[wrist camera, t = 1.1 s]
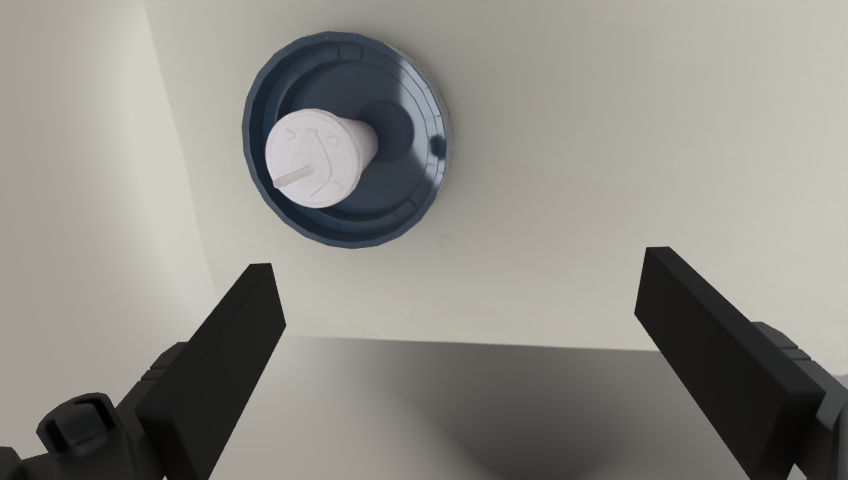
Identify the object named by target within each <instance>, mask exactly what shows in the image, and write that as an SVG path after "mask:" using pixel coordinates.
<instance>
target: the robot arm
mask: <svg viewBox="0 0 848 480" xmlns="http://www.w3.org/2000/svg"><path fill="white" fill-rule="evenodd" d="M634 314H635V316H636V317H637V319H638V320H639V321H640V323H641V324H642V326H643V327H644V328H645V330H646V331H647V333H648V334H649V336H650V337H651V338H652V340H653V341H654V343H655V344H656V346H657V347H658V348H659V350H660V351H661V353H662V354H663V355H664V357H665V358H666V360H667V361H668V363H669V364H670V366H671V367H672V368H673V370H674V371H675V373H676V374H677V375H678V377H679V378H680V380H681V381H682V383H683V384H684V386H685V387H686V388H687V390H688V391H689V393H690V394H691V396H692V397H693V398H694V400H695V401H696V403H697V404H698V406H699V407H700V408H701V410H702V411H703V413H704V414H705V415H706V417H707V418H708V420H709V421H710V423H711V424H712V425H713V427H714V428H715V430H716V431H717V433H718V434H719V435H720V437H721V438H722V440H723V441H724V443H725V444H726V445H727V447H728V448H729V449H730V451H731V452H732V454H733V455H734V457H735V458H736V460H737V461H738V463H739V464H740V465H741V467H742V468H743V470H744V471H745V473H746V474H747V475H748V477H749V478H750V480H787V478H788V476H789V473H790V471H791V469H792V467H793V465H794V463H795V464H796V465H797V466H798V468H799V469H800V470H801V471H802V472H803V474H804V475H805V476H806V477H807V480H848V390H847V389H846V388H845V387H844V386H842V385H841V384H840V383H839V382H838V381H837V380H836V379H834V377H832V376H831V375H830V374H829V373H828V372H827V371H826V370H824V369H823V368H822V367H821V366H820V365H819V364H818V363H816V362H815V361H812V360H811V357H809V356H808V355H807V354H806V353H805V352H804V351H803V350H801V349H798V346H797V345H796V344H795V343H793V342H792V341H791V340H790V339H789V338H788V337H787V336H785V335H784V334H783V333H782V332H780V331H778V330H776V329H774V328H772V327H770V326H769V325H767V324H765V323H763V322H750V321H749V320H748V319H747V318H746V317H745V316H744V315H743V314H742V313H741V312H739V311H738V310H737V309H736V308H735V307H734V306H733V305H732V304H731V303H730V302H729V301H728V300H726V299H725V298H724V297H723V296H722V295H721V294H720V293H719V292H718V291H717V290H716V289H715V288H714V287H712V286H711V285H710V284H709V283H708V282H707V281H706V280H705V279H704V278H703V277H702V276H701V275H699V274H698V273H697V272H696V271H695V270H694V269H693V268H692V267H691V266H690V265H689V264H688V263H686V262H685V261H684V260H683V259H682V258H681V257H680V256H679V255H678V254H677V253H676V252H675V251H673V250H672V249H671V248H670V247H646V252H645V257H644V263H643V268H642V274H641V279H640V285H639V290H638V296H637V301H636V307H635V312H634ZM285 327H286V323H285V319H284V314H283V310H282V306H281V302H280V298H279V294H278V290H277V286H276V281H275V277H274V273H273V269H272V265H271V263H260V264H250V265H249V266H248V267H247V268H246V270H245V271H244V272H243V273H242V275H241V276H240V277H239V278H238V280H237V281H236V282H235V283H234V285H233V286H232V287H231V288H230V290H229V291H228V292H227V293H226V295H225V296H224V297H223V298H222V300H221V301H220V302H219V304H218V305H217V306H216V307H215V309H214V310H213V311H212V312H211V314H210V315H209V316H208V317H207V319H206V320H205V321H204V323H203V324H202V325H201V326H200V327H199V329H198V330H197V331H196V332H195V334H194V335H193V336H192V337H191V339H190V340H189V341H188V342H177V343H176V344H175V345H173V346H172V347H171V348H169V349H168V350H166V351H165V352H163V353H162V354H161V355H160V356H159V357H158V359H157V360H156V361H155V362H154V363H153V364H152V366H151V367H150V370H147V372H146V373H145V374H144V375H143V376H142V377H141V381H138V382H137V383H136V384H135V386H134V387H133V388H132V389H131V390H130V392H129V393H128V394H127V395H126V396H125V397H124V399H123V400H122V401H121V402H120V403H119V404H118V406H117V407H116V408H114V406H113V404H112V402H111V400H110V399H109V397H108V396H107V395H106V394H103V393H99V392H97V393H87V394H84V395H81V396H78V397H75V398H72V399H70V400H68V401H67V402H64V403H62V404H60V405H59V406H58V407H56V408H55V409H53V410H52V411H51V412H49V413H48V414H47V415H46V416H45V417H44V418H43V420H42V421H41V422H40V423H39V425H38V428H37V431H36V433H37V435H38V436H39V438H40V439H41V441H42V443H43V444H44V446H45V447H46V449H47V451H48V452H49V453H45V454H42V455H38V456H34V457H31V458H27V459H23V460H21V459H20V457H19V456H18V454H17V453H16V451H15V450H14V449H13V448H12V447H3V446H2V447H0V480H163V478H164V476H166V478H167V480H208V479H209V477H210V475H211V473H212V471H213V469H214V467H215V465H216V463H217V461H218V459H219V457H220V455H221V453H222V451H223V449H224V447H225V445H226V443H227V442H228V439H229V438H230V436H231V434H232V432H233V430H234V428H235V426H236V424H237V422H238V420H239V418H240V416H241V414H242V412H243V410H244V408H245V406H246V404H247V402H248V400H249V398H250V396H251V394H252V392H253V390H254V388H255V386H256V384H257V382H258V380H259V378H260V376H261V374H262V373H263V371H264V369H265V366H266V365H267V363H268V361H269V359H270V357H271V355H272V353H273V351H274V349H275V347H276V345H277V343H278V341H279V339H280V337H281V335H282V333H283V331H284V329H285Z"/></svg>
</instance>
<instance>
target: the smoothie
mask: <svg viewBox="0 0 848 480" xmlns="http://www.w3.org/2000/svg"><path fill="white" fill-rule="evenodd" d="M377 150H378V137H377V134H376V132H375V131H374V129H373V128H372V127H371V126H370V125H369V124H367V123H365V122H363V121H359V120H353V119H347V118H340V117H337V116H335V115H333V114H332V113H330V112H327V111H324V110H320V109H302V110H299V111H296V112H293V113H290V114H288V115H286V116H284V117H283V118H282V119H280V120H279V121H278V122H277V123H276V124H275V126H274V127H273V128H272V130H271V132H270V134H269V136H268V139H267V143H266V153H265V155H266V164H267V168H268V171H269V174H270V176H271V178H272V180H273V185H274V187H275V188H277V189H279V190H280V191H281V192H282V193H283V194H284V195H285V196H286V197H288V198H289V199H290V200H292V201H294V202H296V203H298V204H300V205H303V206H306V207H311V208H323V207H328V206H331V205H333V204H335V203H338V202H339V201H341V200H343V199H344V198H346V197H347V196H348V195H349V194H350V193H351V192H352V191H353V190H354V189H355V187H356V185H357V183H358V181H359V179H360V176H361V173H362V172H363V170H364V169H365V168H366V167H367V165H368V164H369V163H370V162H371V160H372V159H373V158H374V156H375V155H376V153H377Z"/></svg>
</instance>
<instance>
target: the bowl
mask: <svg viewBox="0 0 848 480" xmlns="http://www.w3.org/2000/svg"><path fill="white" fill-rule="evenodd" d="M302 109H320V110H324V111H327V112H330V113H332V114H333V115H335V116H337V117H340V118H347V119H353V120H359V121H363V122H365V123H367V124H369V125H370V126H371V127H372V128H373V129H374V131H375V132H376V134H377V137H378V150H377V153H376V155H375V156H374V158H373V159H372V160H371V162H370V163H369V164H368V165H367V167H366V168H365V169H364V170H363V172H362V173H361V176H360V179H359V181H358V183H357V185H356V187H355V189H354V190H353V191H352V192H351V193H350V194H349V195H348V196H347V197H346V198H344V199H343V200H341V201H339V202H338V203H335V204H333V205H331V206H328V207H323V208H311V207H306V206H303V205H300V204H298V203H296V202H294V201H292V200H290V199H289V198H288V197H286V196H285V195H284V194H283V193H282V192H281V191H280V190H279V189H277V188H275V187H274V185H273V180H272V178H271V176H270V174H269V171H268V168H267V164H266V155H265V153H266V143H267V139H268V136H269V134H270V132H271V130H272V128H273V127H274V126H275V124H276V123H277V122H278V121H279V120H280V119H282V118H283V117H284V116H286V115H288V114H290V113H293V112H296V111H299V110H302ZM242 136H243V149H244V155H245V158H246V162H247V165H248V168H249V171H250V174H251V177H252V180H253V182H254V183H255V185H256V187H257V189H258V190H259V192H260V194H261V195H262V197H263V199H264V201H265V202H266V203H267V205H268V206H269V207H270V208H271V209H272V210H273V211H274V212H275V213H276V214H277V215H278V216H279V218H280V219H281V220H282V221H283V222H284V223H286V224H287V225H289V226H290V227H291V228H293V229H294V230H296V231H297V232H299V233H300V234H302V235H303V236H305V237H307V238H310V239H312V240H315V241H317V242H320V243H322V244H325V245H329V246H333V247H341V248H349V249H358V248H366V247H373V246H379V245H381V244H383V243H386V242H388V241H391V240H393V239H395V238H398V237H400V236H401V235H403V234H404V233H405V232H406V231H408V230H409V229H410V228H412V227H413V226H414V225H415V224H417V223H418V222H419V221H420V220H421V219H422V217H423V216H424V214H425V213H426V212H427V210H428V209H429V207H430V206H431V205H432V203H433V202H434V200H435V199H436V197H437V196H438V194H439V192H440V191H441V189H442V187H443V184H444V181H445V179H446V176H447V173H448V171H449V168H450V164H451V156H452V145H453V135H452V129H451V123H450V117H449V112H448V109H447V107H446V105H445V103H444V100H443V98H442V96H441V94H440V91H439V89H438V87H437V85H436V84H435V83H434V82H433V80H432V79H431V78H430V77H429V75H428V74H427V73H426V72H425V70H424V69H423V68H422V67H421V65H419V63H417V62H416V61H414V60H413V59H412V58H410V57H409V56H408V55H406V54H405V53H403V52H402V51H401V50H399V49H398V48H396V47H393V46H391V45H388V44H385V43H382V42H380V41H377V40H374V39H371V38H369V37H366V36H363V35H360V34H357V33H347V32H330V31H327V32H322V33H318V34H314V35H310V36H306V37H302V38H299V39H297V40H296V41H294V42H292V43H291V44H289V45H287V46H286V47H284V48H283V49H281V50H279V51H278V52H276V53H275V54H274V55H273V56H272V58H271V59H270V60H269V61H268V62H267V63H266V64H265V66H264V67H263V68H262V69H261V70H260V71H259V73H258V74H257V76H256V78H255V81H254V83H253V85H252V87H251V89H250V91H249V94H248V96H247V99H246V103H245V109H244V115H243V121H242Z"/></svg>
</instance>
